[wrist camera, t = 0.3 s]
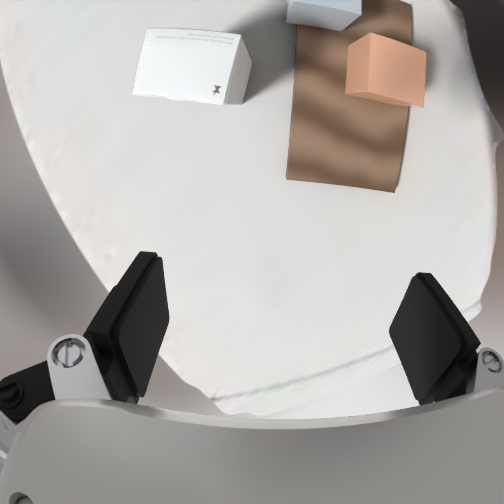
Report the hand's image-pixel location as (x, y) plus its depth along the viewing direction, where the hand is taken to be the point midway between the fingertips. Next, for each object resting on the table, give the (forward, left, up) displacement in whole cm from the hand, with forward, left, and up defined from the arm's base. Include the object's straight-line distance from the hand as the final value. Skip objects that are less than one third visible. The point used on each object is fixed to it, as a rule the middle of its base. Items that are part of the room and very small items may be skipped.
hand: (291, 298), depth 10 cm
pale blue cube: (-22, +5, -28) cm, 36 cm away
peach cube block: (-13, +13, -28) cm, 34 cm away
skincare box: (-10, -7, -30) cm, 32 cm away
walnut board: (-12, +11, -30) cm, 34 cm away
